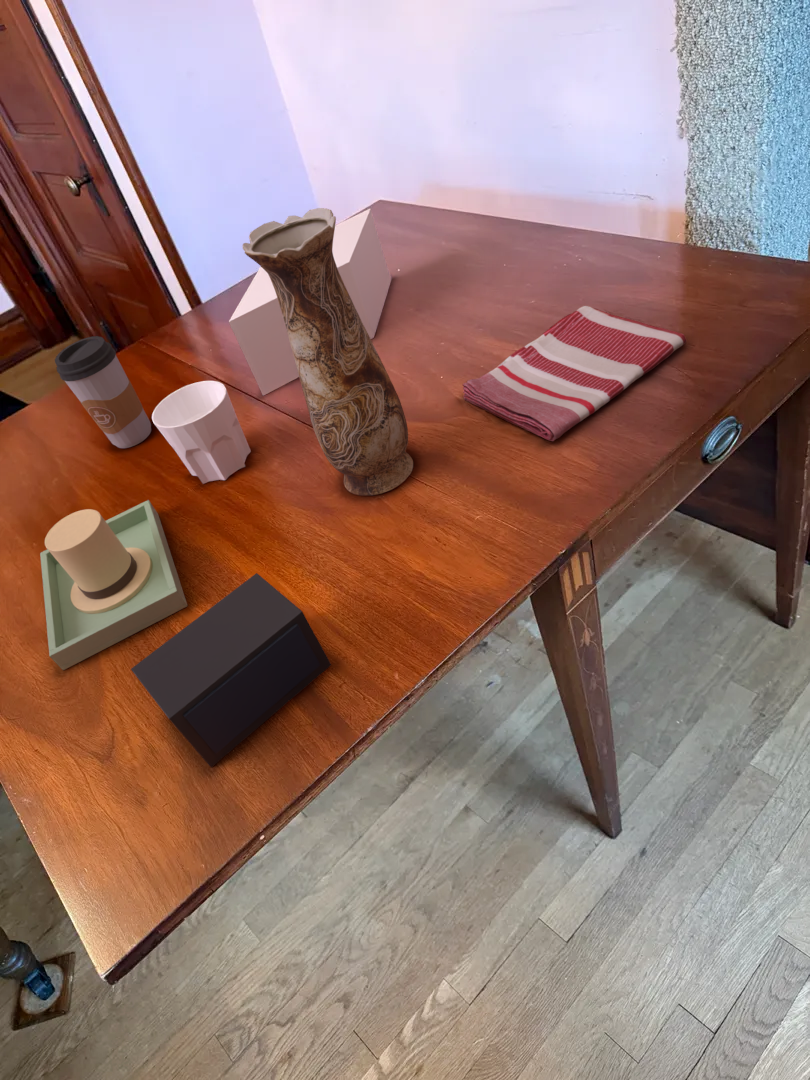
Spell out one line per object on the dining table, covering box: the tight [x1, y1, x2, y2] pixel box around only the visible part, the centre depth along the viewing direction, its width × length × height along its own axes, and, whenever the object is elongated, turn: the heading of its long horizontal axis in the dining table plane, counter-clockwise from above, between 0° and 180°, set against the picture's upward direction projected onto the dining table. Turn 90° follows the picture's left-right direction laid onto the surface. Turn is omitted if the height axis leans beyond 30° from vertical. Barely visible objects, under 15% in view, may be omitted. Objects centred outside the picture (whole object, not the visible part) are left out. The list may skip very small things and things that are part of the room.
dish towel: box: [462, 305, 687, 442], centre depth 94 cm, size 17×23×3 cm
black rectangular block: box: [130, 572, 332, 768], centre depth 68 cm, size 14×8×8 cm, turn 130°
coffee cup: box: [54, 335, 152, 449], centre depth 108 cm, size 8×8×15 cm
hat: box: [44, 508, 152, 614], centre depth 85 cm, size 10×10×9 cm
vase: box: [241, 207, 414, 496], centre depth 81 cm, size 10×11×30 cm
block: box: [228, 208, 392, 396], centre depth 116 cm, size 18×35×12 cm, turn 145°
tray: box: [39, 499, 188, 671], centre depth 88 cm, size 20×15×3 cm
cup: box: [151, 380, 252, 485], centre depth 98 cm, size 10×10×10 cm
